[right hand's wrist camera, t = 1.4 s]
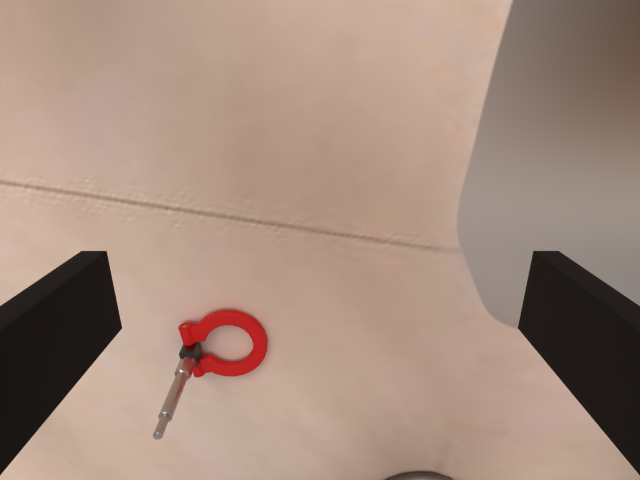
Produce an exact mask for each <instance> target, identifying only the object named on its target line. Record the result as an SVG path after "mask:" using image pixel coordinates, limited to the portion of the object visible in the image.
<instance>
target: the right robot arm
mask: <svg viewBox="0 0 640 480" xmlns="http://www.w3.org/2000/svg"><path fill="white" fill-rule="evenodd" d="M121 329H122V326H121V321H120V316H119V311H118V306H117V301H116V296H115V291H114V286H113V281H112V276H111V271H110V266H109V261H108V256H107V251H81V252H79V253H78V254H77V255H75V256H74V257H72V258H71V259H69V260H68V261H66V262H65V263H63V264H62V265H60V266H59V267H57V268H56V269H54V270H53V271H51V272H50V273H49V274H47V275H46V276H44V277H43V278H41V279H40V280H38V281H37V282H35V283H34V284H32V285H31V286H29V287H28V288H26V289H25V290H23V291H22V292H21V293H19V294H18V295H16V296H15V297H13V298H12V299H10V300H9V301H7V302H6V303H4V304H3V305H1V306H0V475H1V474H2V472H3V471H4V470H5V469H6V468H7V466H8V465H9V464H10V463H11V462H12V460H13V459H14V458H15V457H16V455H17V454H18V453H19V452H20V451H21V449H22V448H23V447H24V446H25V445H26V443H27V442H28V441H29V440H30V439H31V437H32V436H33V435H34V434H35V433H36V431H37V430H38V429H39V428H40V427H41V425H42V424H43V423H44V422H45V420H46V419H47V418H48V417H49V416H50V414H51V413H52V412H53V411H54V410H55V408H56V407H57V406H58V405H59V404H60V402H61V401H62V400H63V399H64V398H65V396H66V395H67V394H68V393H69V392H70V390H71V389H72V388H73V387H74V385H75V384H76V383H77V382H78V381H79V379H80V378H81V377H82V376H83V375H84V373H85V372H86V371H87V370H88V369H89V367H90V366H91V365H92V364H93V363H94V361H95V360H96V359H97V358H98V357H99V355H100V354H101V353H102V352H103V350H104V349H105V348H106V347H107V346H108V344H109V343H110V342H111V341H112V340H113V338H114V337H115V336H116V335H117V334H118V332H119V331H120V330H121ZM518 329H519V330H520V331H521V332H522V334H523V335H524V336H525V337H526V338H527V340H528V341H529V342H530V343H531V344H532V346H533V347H534V348H535V349H536V350H537V352H538V353H539V354H540V355H541V357H542V358H543V359H544V360H545V361H546V363H547V364H548V365H549V366H550V367H551V369H552V370H553V371H554V372H555V373H556V375H557V376H558V377H559V378H560V379H561V381H562V382H563V383H564V384H565V385H566V387H567V388H568V389H569V390H570V392H571V393H572V394H573V395H574V396H575V398H576V399H577V400H578V401H579V402H580V404H581V405H582V406H583V407H584V408H585V410H586V411H587V412H588V413H589V414H590V416H591V417H592V418H593V419H594V420H595V422H596V423H597V424H598V425H599V427H600V428H601V429H602V430H603V431H604V433H605V434H606V435H607V436H608V437H609V439H610V440H611V441H612V442H613V443H614V445H615V446H616V447H617V448H618V449H619V451H620V452H621V453H622V454H623V455H624V457H625V458H626V459H627V460H628V462H629V463H630V464H631V465H632V466H633V468H634V469H635V470H636V471H637V472H638V474H639V475H640V306H639V305H637V304H636V303H634V302H633V301H631V300H630V299H628V298H627V297H625V296H624V295H622V294H621V293H619V292H618V291H617V290H615V289H614V288H612V287H611V286H609V285H608V284H606V283H605V282H603V281H602V280H600V279H599V278H597V277H596V276H594V275H593V274H591V273H590V272H589V271H587V270H586V269H584V268H583V267H581V266H580V265H578V264H577V263H575V262H574V261H572V260H571V259H569V258H568V257H566V256H565V255H563V254H562V253H561V252H559V251H534V252H533V256H532V261H531V266H530V271H529V276H528V281H527V286H526V291H525V296H524V301H523V306H522V311H521V316H520V321H519V326H518ZM387 480H452V479H450V478H448V477H446V476H443V475H439V474H435V473H428V472H413V473H406V474H401V475H398V476H395V477H392V478H390V479H387Z"/></svg>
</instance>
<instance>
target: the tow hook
mask: <svg viewBox="0 0 640 480" xmlns="http://www.w3.org/2000/svg"><path fill="white" fill-rule="evenodd" d="M223 325H234V326H237V327H240V328H242V329H244V330H245V331H246V332H247V333H249V335H250V336H251V338H252V340H253V344H254V348H253V351H252V352H251V354H250V355H249V356H248V357H246V358H245V359H243V360H241V361H238V362H224V361H221V360H219V359H217V358H215V357H214V356H213V355H204V356H202V353H201V350H200V347H199V344H198V342H202V341H205V340H206V337H207V335H208V334H209V332H211V331H212V330H213V329H215V328H217V327H219V326H223ZM179 331H180V334H181V337H182V340H183V343H184V344H183V346H182V348H181V351H180V353H179V356H180V362H179V364H178V366H177V369H176V371H175V379H174V381H173V384H172V386H171V388H170V391H169V393H168V395H167V398H166V400H165V402H164V405H163V407H162V409H161V412H160V414H159V419H160V420H159V422H158V425H157V427H156V429H155V432H154V434H153V437H154V438H155V439H161V438H162V436H163V434H164V431H165V429H166V426H167V423H168V422H169V421H171V419H172V417H173V415H174V412H175V409H176V407H177V404H178V402H179V399H180V396H181V394H182V391H183V389H184V386H185V383H186V381H187V380H188V379H189V378H190V377H191V374H192V372H193V374H194V377H201V376H203V375H204V374H205V373H207V372H213V373H215V374H218V375H223V376H238V375H244V374H246V373H248V372H250V371H252V370H254V369H255V368H256V367H257V366H259V365H260V363H261V362H262V360H263V359H264V357H265V354H266V351H267V337H266V334H265V331H264V329H263V328H262V326H261V325H260V324H259V323H258V322H257V321H256V320H255V319H254V318H253V317H251V316H249V315H247V314H245V313H242V312H238V311H229V310H224V311H219V312H215V313H212V314H210V315H208V316H206V317H205V318H204V319H203V320H201V321H200V322H199V323H197V324H191V323H189V322H186V323H183V324H181V325H180V326H179Z"/></svg>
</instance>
